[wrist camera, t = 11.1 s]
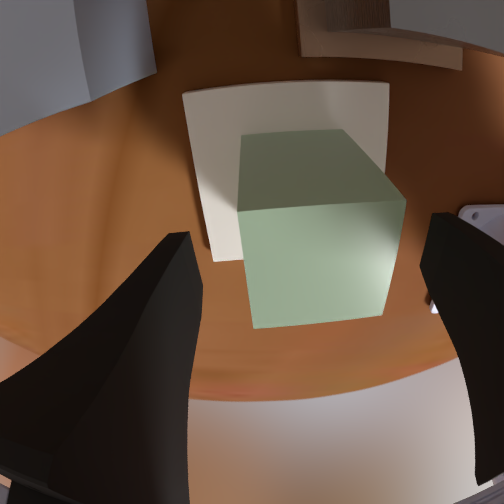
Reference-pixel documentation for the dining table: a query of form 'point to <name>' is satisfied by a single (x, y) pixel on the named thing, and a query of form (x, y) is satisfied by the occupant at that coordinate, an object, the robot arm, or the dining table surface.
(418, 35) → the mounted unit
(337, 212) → the sage part
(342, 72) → the dining table surface
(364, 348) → the dining table surface
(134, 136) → the dining table surface
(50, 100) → the blue-grey part
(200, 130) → the plate
